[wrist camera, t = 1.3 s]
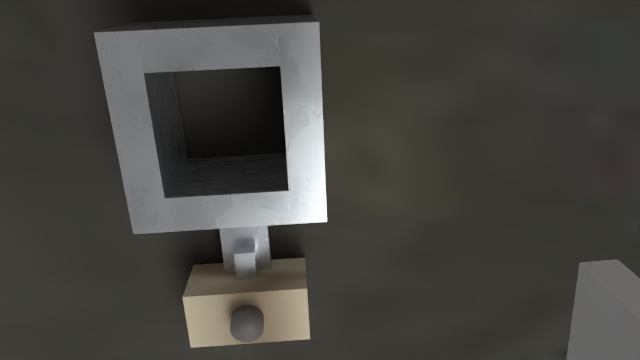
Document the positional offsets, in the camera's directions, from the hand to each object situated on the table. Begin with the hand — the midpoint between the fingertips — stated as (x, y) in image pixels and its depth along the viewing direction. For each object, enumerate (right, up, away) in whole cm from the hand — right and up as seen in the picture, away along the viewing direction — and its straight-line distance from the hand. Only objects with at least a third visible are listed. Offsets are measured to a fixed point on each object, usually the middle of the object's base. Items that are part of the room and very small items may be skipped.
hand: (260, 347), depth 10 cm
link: (-3, +7, +14) cm, 16 cm away
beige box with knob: (-3, -2, +18) cm, 18 cm away
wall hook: (-3, 0, +16) cm, 17 cm away
